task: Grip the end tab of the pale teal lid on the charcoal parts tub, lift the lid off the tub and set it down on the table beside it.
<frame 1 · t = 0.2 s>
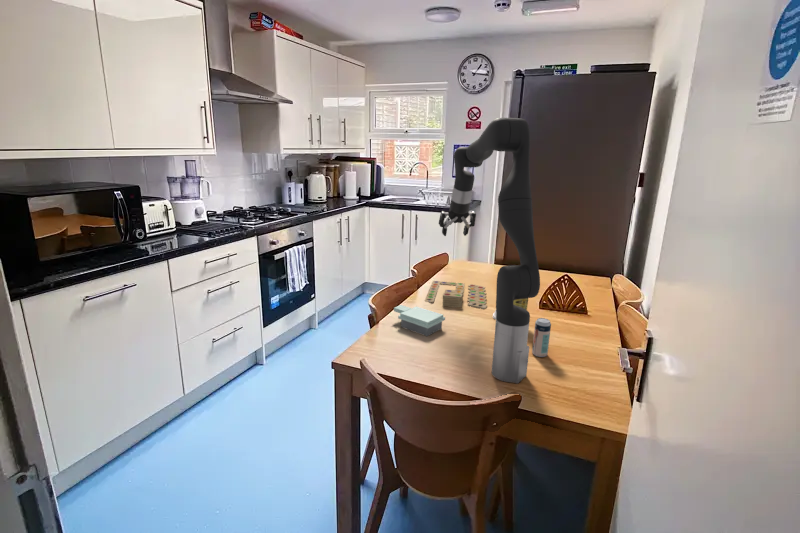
hand: (454, 234, 168), 31 cm above the table, tool tilted 20°, fingers open, 8 cm apart
tub: (421, 329, 154), on the table
walnut block A: (426, 329, 152), point 1 cm above the table, touching tub
lid: (421, 316, 152), point 5 cm above the table, touching tub
beer can: (539, 355, 136), on the table
sauce bottle: (516, 326, 158), on the table
vase: (502, 318, 166), on the table
pile of dominoes: (457, 296, 193), on the table
walnut block B: (415, 325, 155), point 1 cm above the table, touching tub
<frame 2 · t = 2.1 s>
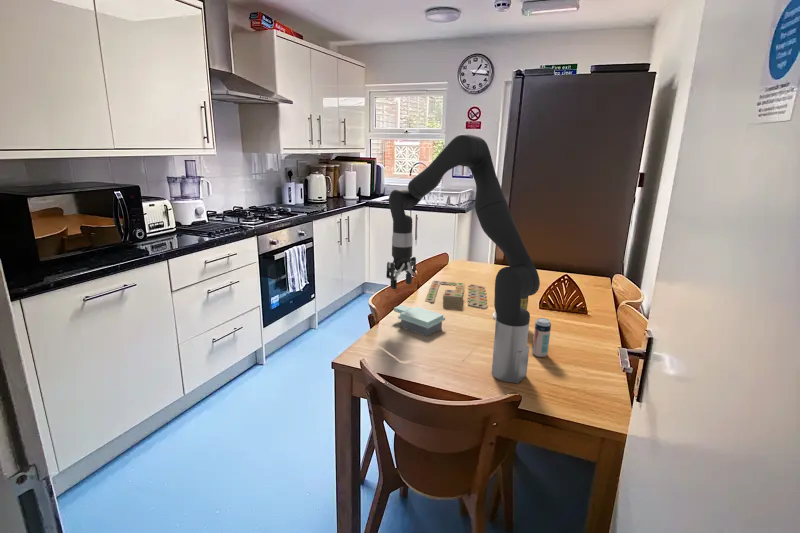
hand: (401, 286, 156), 14 cm above the table, tool pointing down, fingers open, 8 cm apart
nothing on the table moved.
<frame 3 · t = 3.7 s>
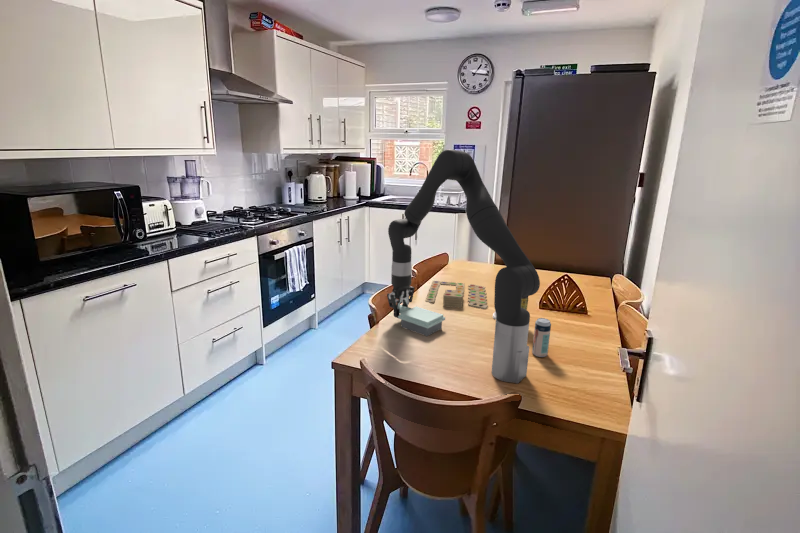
hand: (400, 315, 159), 3 cm above the table, tool pointing down, fingers closed on lid, 4 cm apart
lid: (421, 316, 152), point 5 cm above the table, touching gripper, tub
everything else where it was.
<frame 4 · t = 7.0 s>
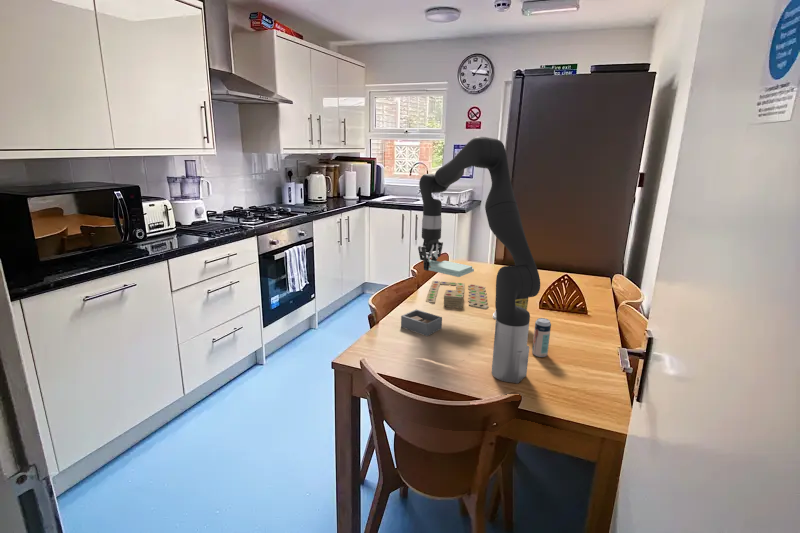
hand: (430, 268, 166), 18 cm above the table, tool pointing down, fingers closed on lid, 4 cm apart
lid: (451, 268, 159), point 21 cm above the table, touching gripper
everything else where it was.
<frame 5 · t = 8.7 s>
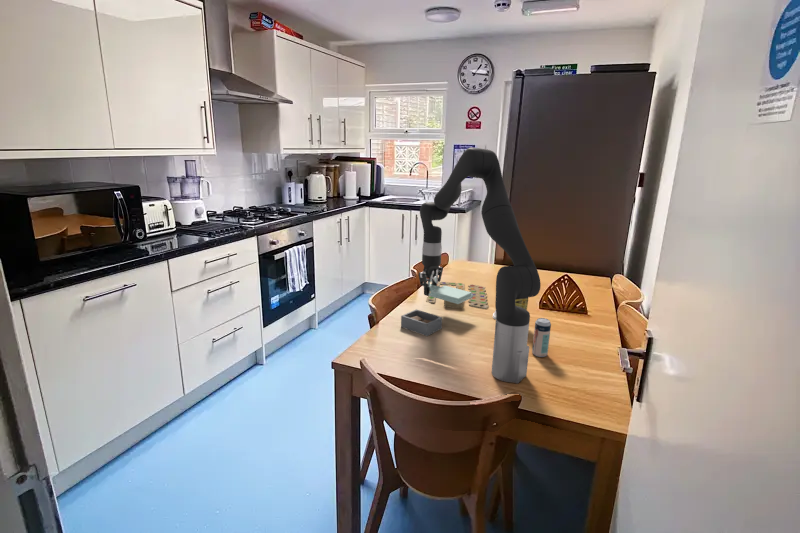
hand: (430, 293, 169), 8 cm above the table, tool pointing down, fingers closed on lid, 4 cm apart
lid: (451, 294, 162), point 10 cm above the table, touching gripper
everything else where it was.
when the fingers open (1 cm above the table, at t = 10.2 s): lid drops 2 cm, point 1 cm above the table.
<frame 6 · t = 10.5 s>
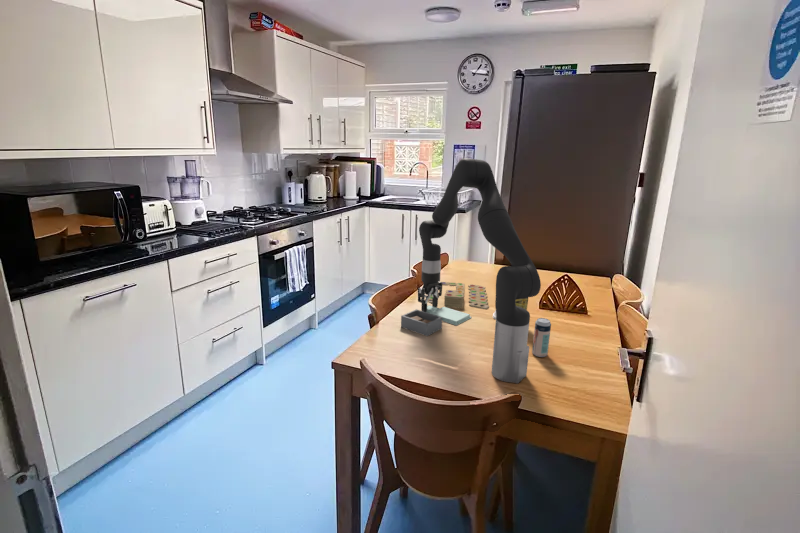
hand: (429, 309, 170), 1 cm above the table, tool pointing down, fingers open, 6 cm apart
lid: (449, 316, 164), point 1 cm above the table
everything else where it was.
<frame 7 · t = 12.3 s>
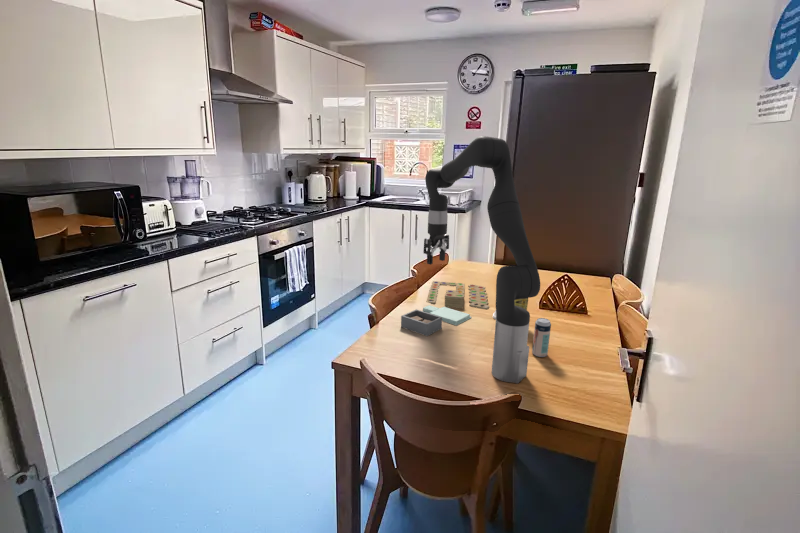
hand: (436, 262, 166), 21 cm above the table, tool pointing down, fingers open, 8 cm apart
nothing on the table moved.
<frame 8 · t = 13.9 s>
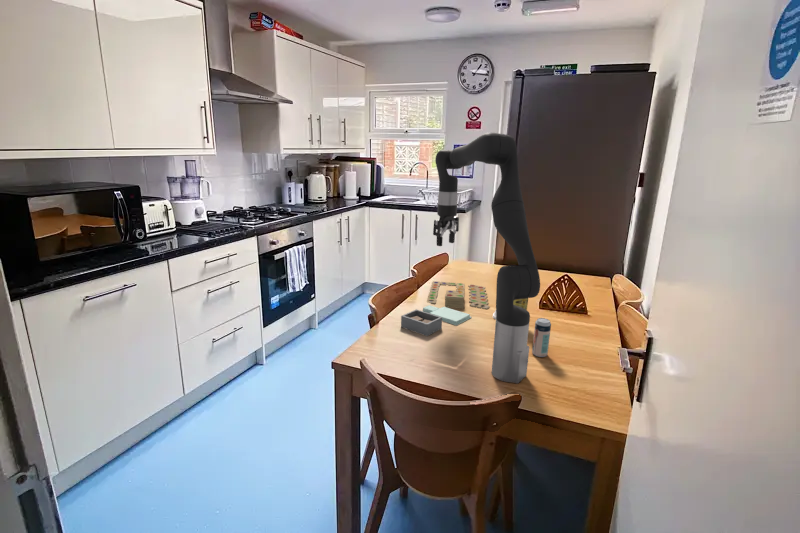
hand: (445, 244, 165), 28 cm above the table, tool pointing down, fingers open, 8 cm apart
nothing on the table moved.
at the end: lid inside the target area (0.6 cm from its centre), point 1.0 cm above the table; lid touching table; the gripper is holding nothing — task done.
